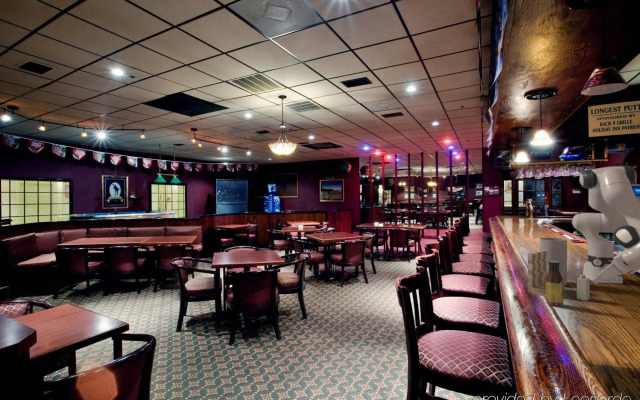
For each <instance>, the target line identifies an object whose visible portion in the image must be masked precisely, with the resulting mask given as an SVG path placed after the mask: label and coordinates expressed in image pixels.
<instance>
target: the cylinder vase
mask: <svg viewBox="0 0 640 400" xmlns="http://www.w3.org/2000/svg"><path fill="white" fill-rule="evenodd" d="M540 250H547V257H546V275H547V273H548V272H549V264H548V262H549V261H558V262H559V264H560V265H559V272H560V274H561V276H562V279H563V282H564V286H566V285H567V284H568V239H566V238H559V237H539V251H540Z"/></svg>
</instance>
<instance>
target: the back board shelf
mask: <svg viewBox="0 0 640 400" xmlns="http://www.w3.org/2000/svg"><path fill="white" fill-rule="evenodd" d="M546 257H547V250H540V249H539V250H537V251H533V252H529V253H527V293H529V294H534V295H538V296H543V297H546ZM564 291H565V285H564V282H563V292H564Z"/></svg>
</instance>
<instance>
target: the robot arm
mask: <svg viewBox="0 0 640 400" xmlns="http://www.w3.org/2000/svg"><path fill="white" fill-rule="evenodd" d="M636 179H637V173H636V170H635V168H633V167H632V166H630V165H621V166H604V167H599V168H597V167H596V168H593V169H585V170H583V171H582V172H581V173H580V174H579V184H580V185H581V187H582V188H584V189H588V205H589V207H591V208H592V209H593V210H595V211H598V212H596V213H594V212H583V213H576V214H575V215H574V216H573V218H572V219H571V224H572V227H573V228H574V229H575V230H577V231H578V232H580V233H581V234H582V235H583V236H584V238H585V240H586V243H587V256H586V262H585V263H584V264H583V273H582V274H579V277H581V275H585V278H590V281H592V282H593V283H594V284H596V285H597V284H599V283H604V284H620V285H621V284H624V283H623V282H624V281H623V280H624V279H623V276H621V275H627V274H629V275H630V274H632V275H633V274H635V273H637V272H639V271H640V204H639V203H638V200H637V198H636V195H635V193H634V190H633V188H632V185H633V184H634V183H635V182H636ZM599 212H600V213H599ZM599 233H609V234H610V233H612V238H613V241H615V243H616V244H618V245H620V246H621V247H623V248H624V250H623V251H621V252H620V253H619V254H616V256H614V255H615V253H614V252H615V251H614V246H615V245H614V243H613V242H612V241H611V240H609V239H607V238H605V237H602V236H601V235H599Z"/></svg>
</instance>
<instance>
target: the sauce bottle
mask: <svg viewBox="0 0 640 400" xmlns="http://www.w3.org/2000/svg"><path fill="white" fill-rule="evenodd" d="M548 264H549V272H548V273H547V275H546V296H545V297H546V298H545V299H546V304H548V305H549V306H551V307H563V306H564V291H563V279H562V276H561V274H560V272H559V265H560V264H559V262H558V261H549V262H548Z"/></svg>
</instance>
